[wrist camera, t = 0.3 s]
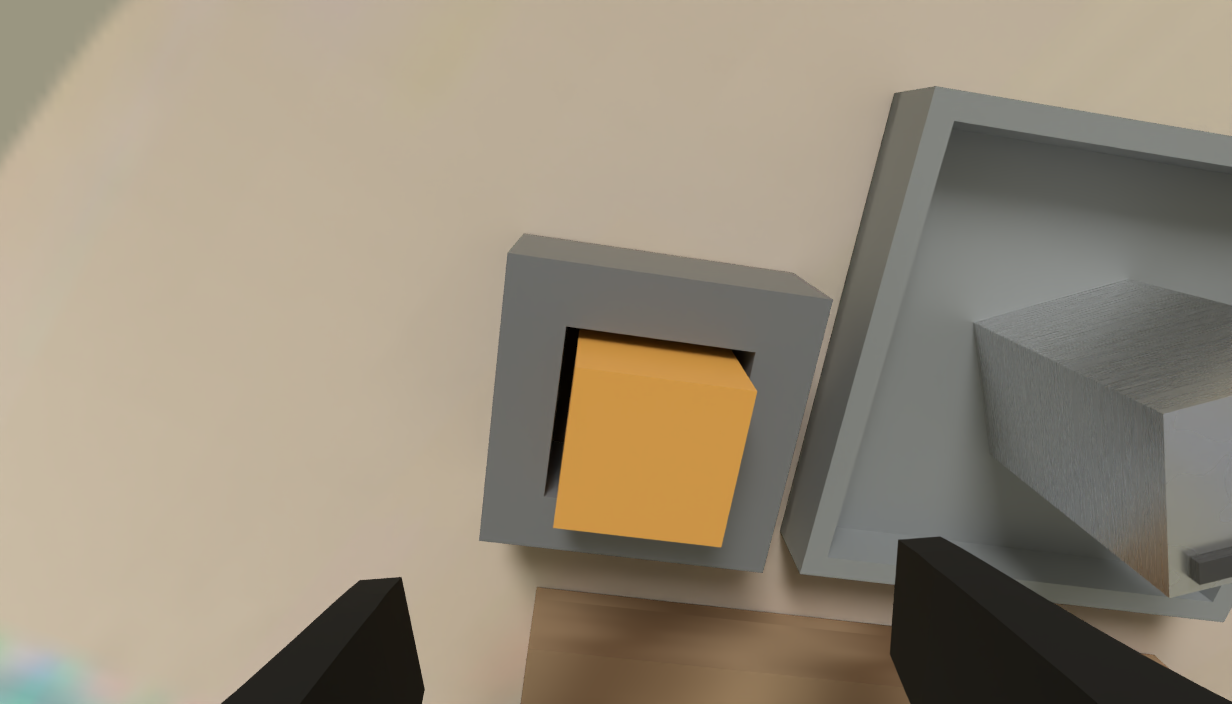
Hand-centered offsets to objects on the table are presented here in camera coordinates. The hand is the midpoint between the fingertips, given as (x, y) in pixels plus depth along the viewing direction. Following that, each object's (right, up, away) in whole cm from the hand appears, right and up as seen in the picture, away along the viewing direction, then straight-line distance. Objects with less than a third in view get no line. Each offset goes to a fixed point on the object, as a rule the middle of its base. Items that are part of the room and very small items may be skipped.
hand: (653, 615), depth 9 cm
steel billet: (+11, +3, +8) cm, 14 cm away
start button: (0, +2, +7) cm, 7 cm away
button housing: (0, +3, +8) cm, 9 cm away
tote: (+11, +4, +8) cm, 14 cm away
